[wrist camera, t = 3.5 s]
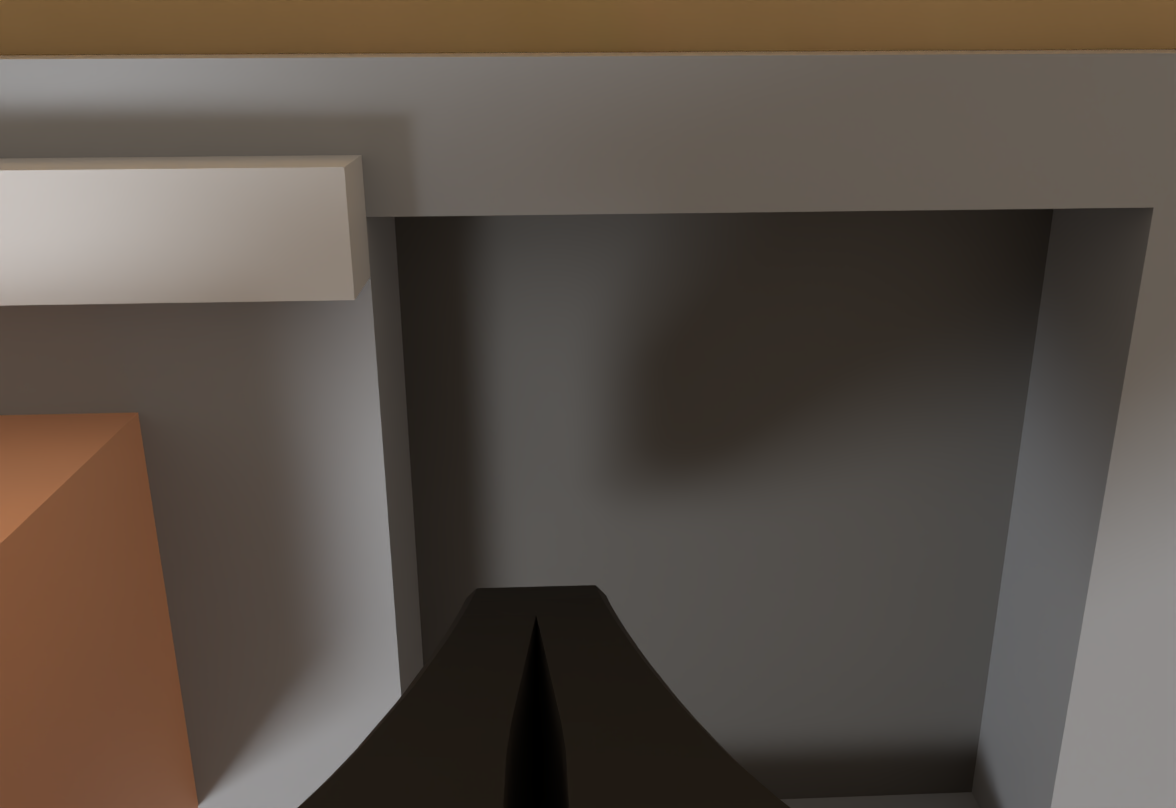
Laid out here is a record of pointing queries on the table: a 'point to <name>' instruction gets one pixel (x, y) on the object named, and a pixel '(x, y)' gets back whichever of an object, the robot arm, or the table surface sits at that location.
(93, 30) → the table surface
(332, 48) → the table surface
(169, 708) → the terracotta block
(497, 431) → the tunnel deck
